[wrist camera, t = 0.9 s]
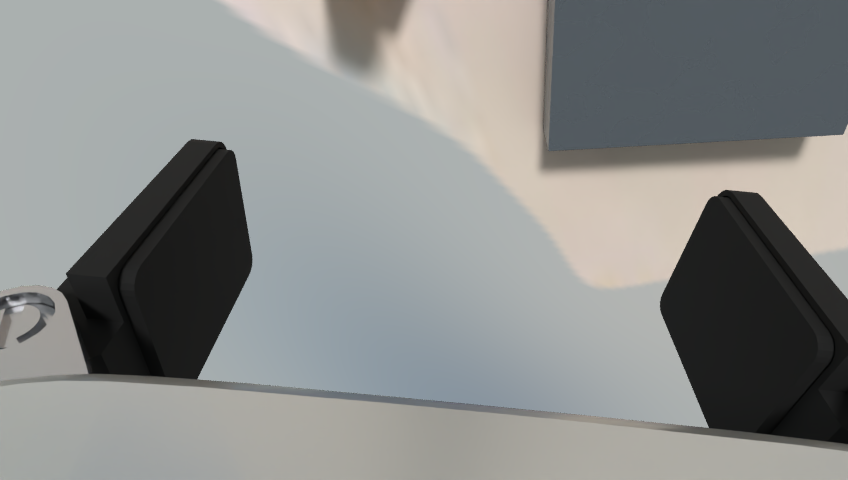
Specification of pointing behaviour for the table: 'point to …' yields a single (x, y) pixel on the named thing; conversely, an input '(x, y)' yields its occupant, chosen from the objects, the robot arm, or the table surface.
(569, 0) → the slate stand
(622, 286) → the table surface
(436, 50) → the table surface
